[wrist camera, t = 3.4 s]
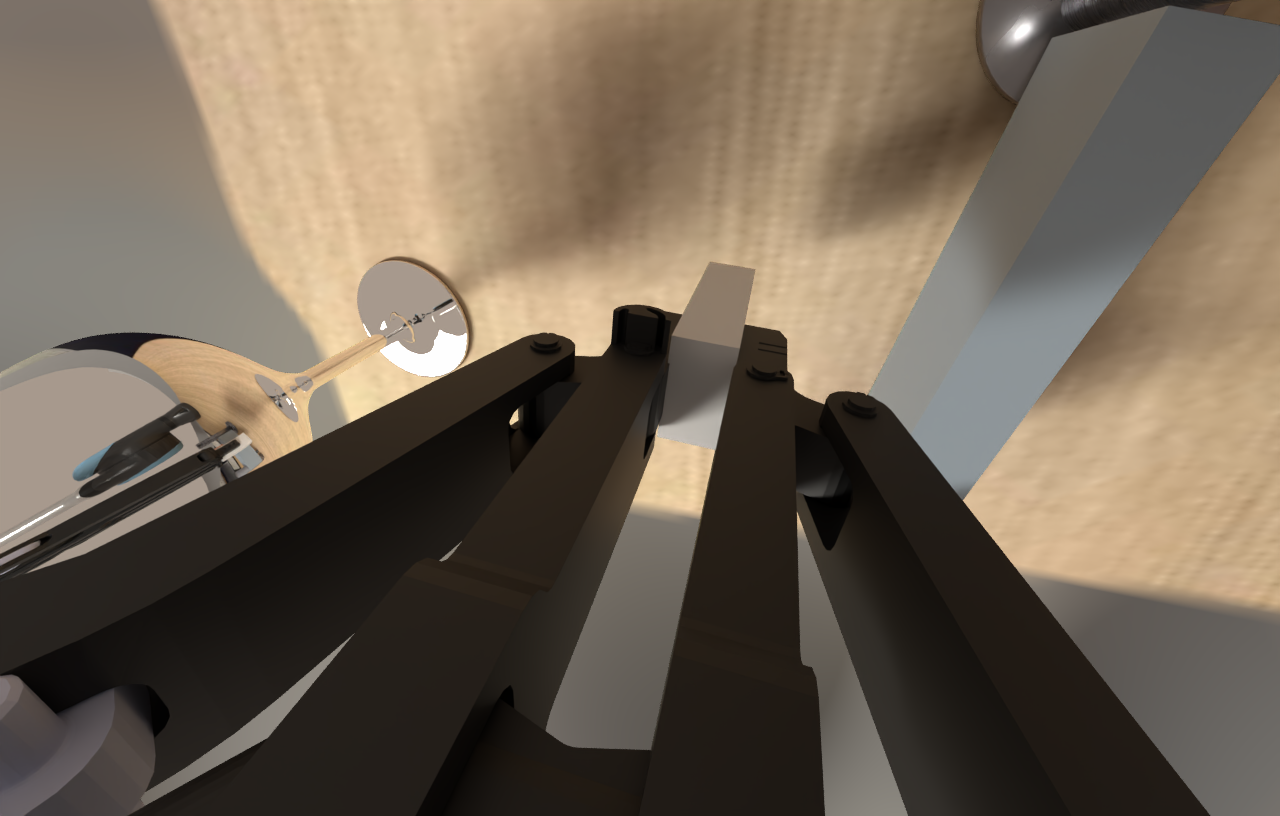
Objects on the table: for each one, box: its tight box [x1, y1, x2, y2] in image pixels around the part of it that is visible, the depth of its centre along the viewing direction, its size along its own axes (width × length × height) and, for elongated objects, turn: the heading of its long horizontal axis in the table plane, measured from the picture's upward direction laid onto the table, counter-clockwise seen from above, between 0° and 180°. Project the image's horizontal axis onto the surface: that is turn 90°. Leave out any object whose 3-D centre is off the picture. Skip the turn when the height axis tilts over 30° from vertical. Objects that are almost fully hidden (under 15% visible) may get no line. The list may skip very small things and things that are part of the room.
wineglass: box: [0, 260, 469, 582], centre depth 19 cm, size 8×8×18 cm
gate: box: [868, 5, 1280, 501], centre depth 15 cm, size 15×2×9 cm, turn 170°
